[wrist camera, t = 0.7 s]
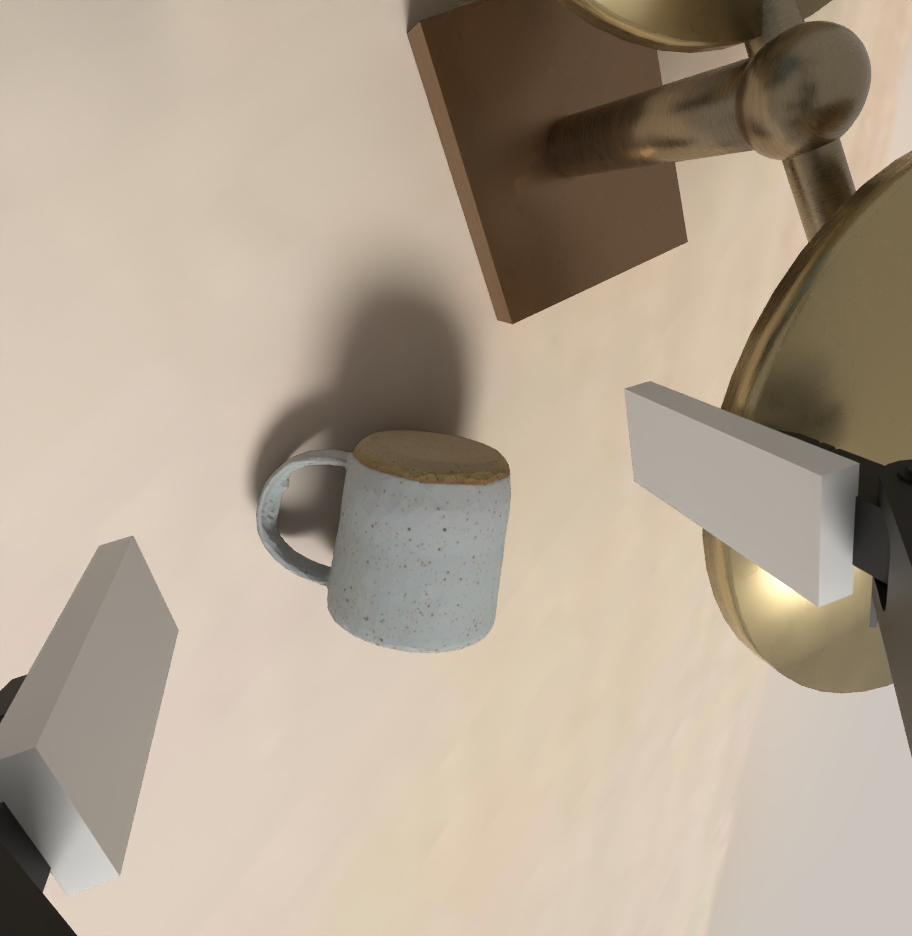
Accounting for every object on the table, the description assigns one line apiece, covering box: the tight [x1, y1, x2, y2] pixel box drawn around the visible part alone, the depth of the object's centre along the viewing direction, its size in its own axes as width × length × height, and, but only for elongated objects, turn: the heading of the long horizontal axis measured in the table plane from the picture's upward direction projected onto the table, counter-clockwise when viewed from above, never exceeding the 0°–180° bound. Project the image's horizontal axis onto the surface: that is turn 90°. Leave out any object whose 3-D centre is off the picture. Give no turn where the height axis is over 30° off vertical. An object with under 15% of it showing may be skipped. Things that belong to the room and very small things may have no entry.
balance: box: [407, 0, 912, 693], centre depth 21 cm, size 35×16×18 cm, turn 21°
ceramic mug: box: [256, 430, 511, 653], centre depth 27 cm, size 11×8×8 cm
